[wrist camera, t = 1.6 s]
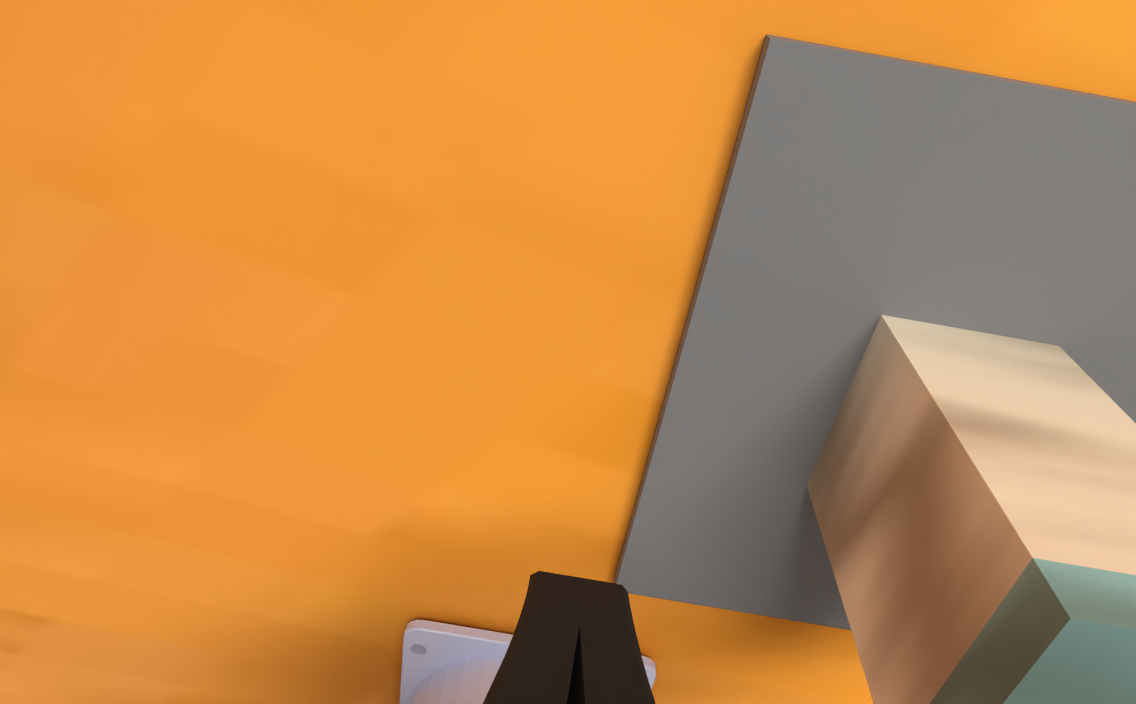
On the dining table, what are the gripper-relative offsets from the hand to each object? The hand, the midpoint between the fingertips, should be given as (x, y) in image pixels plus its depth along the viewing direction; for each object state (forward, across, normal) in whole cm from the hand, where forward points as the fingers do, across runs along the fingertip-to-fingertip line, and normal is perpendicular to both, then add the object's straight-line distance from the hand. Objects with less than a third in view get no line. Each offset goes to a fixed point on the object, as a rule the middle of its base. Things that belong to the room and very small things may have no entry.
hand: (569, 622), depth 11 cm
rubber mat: (+8, -11, 0) cm, 13 cm away
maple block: (+7, -8, 0) cm, 11 cm away
